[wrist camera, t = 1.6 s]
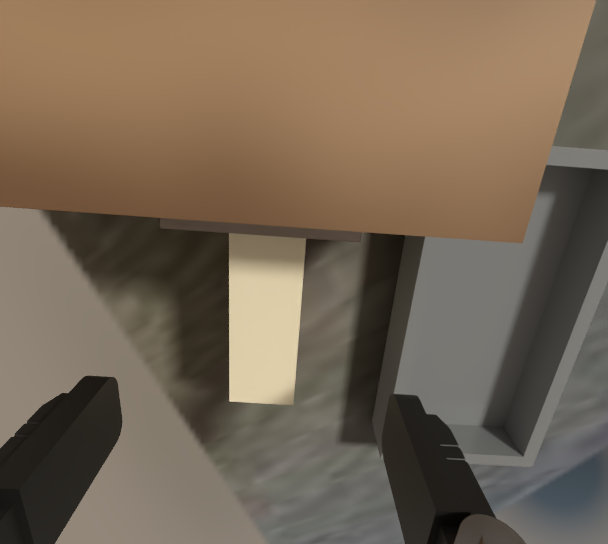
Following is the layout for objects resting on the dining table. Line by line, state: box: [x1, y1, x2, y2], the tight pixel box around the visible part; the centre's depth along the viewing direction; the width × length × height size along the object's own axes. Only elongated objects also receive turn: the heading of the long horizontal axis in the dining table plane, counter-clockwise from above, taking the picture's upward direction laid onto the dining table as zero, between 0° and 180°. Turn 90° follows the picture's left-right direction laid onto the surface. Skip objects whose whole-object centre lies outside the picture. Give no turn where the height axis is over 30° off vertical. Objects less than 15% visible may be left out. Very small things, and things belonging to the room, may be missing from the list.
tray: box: [372, 146, 608, 467], centre depth 18 cm, size 16×8×3 cm, turn 176°
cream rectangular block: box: [229, 233, 306, 405], centre depth 15 cm, size 12×3×6 cm, turn 176°
